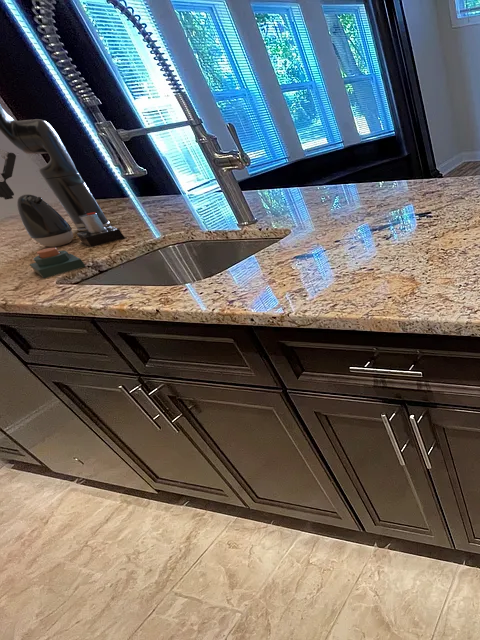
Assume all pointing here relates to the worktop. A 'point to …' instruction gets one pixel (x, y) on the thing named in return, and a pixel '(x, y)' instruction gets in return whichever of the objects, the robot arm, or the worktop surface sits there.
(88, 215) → the faucet dial
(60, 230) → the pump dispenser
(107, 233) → the faucet panel
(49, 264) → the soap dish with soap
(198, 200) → the worktop surface
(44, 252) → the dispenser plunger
